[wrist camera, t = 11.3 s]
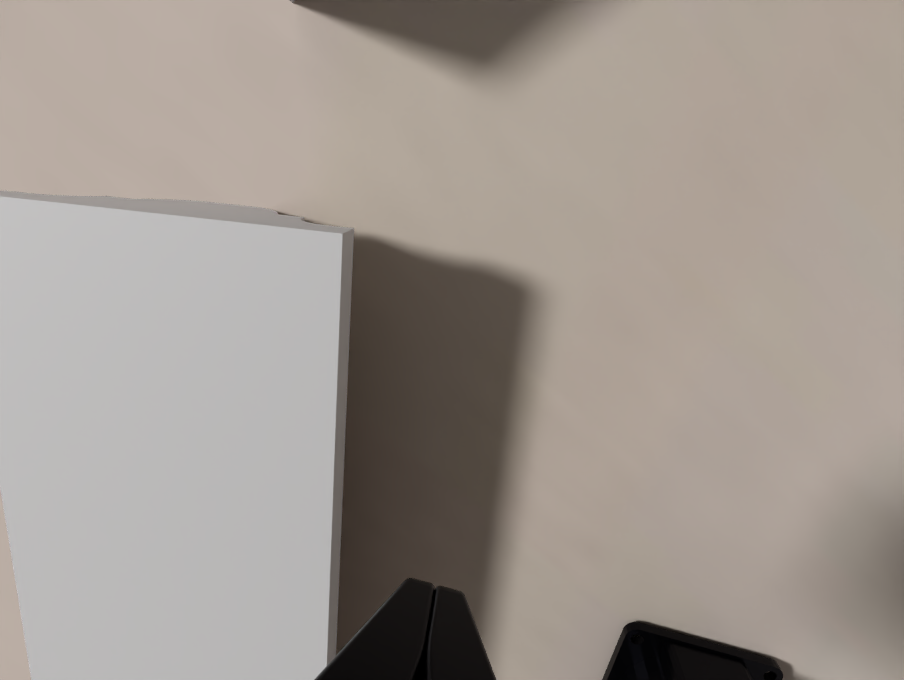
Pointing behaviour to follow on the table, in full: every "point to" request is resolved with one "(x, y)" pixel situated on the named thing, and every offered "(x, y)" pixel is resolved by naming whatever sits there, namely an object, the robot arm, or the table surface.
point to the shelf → (173, 435)
